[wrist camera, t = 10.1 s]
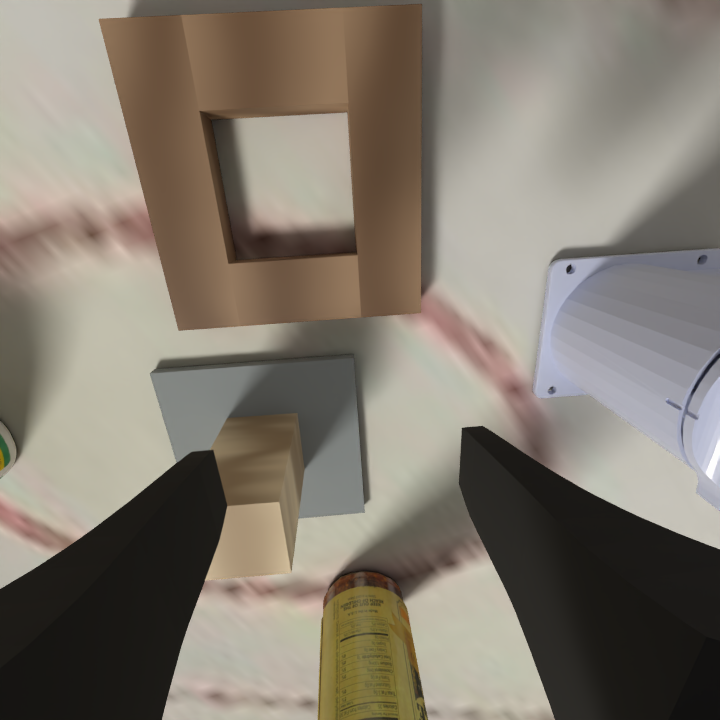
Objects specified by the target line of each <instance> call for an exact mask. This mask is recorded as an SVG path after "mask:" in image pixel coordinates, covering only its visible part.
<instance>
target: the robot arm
mask: <svg viewBox="0 0 720 720" xmlns="http://www.w3.org/2000/svg"><path fill="white" fill-rule="evenodd" d="M699 257H700V260H699V262H698V263H697V260H698V258H699ZM570 264H571V267H572V268H571V270H570V271H569V272H568V273H567V272H566V268H567V266H568V265H570ZM550 387H553V388H552V390H551V391H548V389H549V388H550ZM533 393H534V394H535V395H536V396H537V397H538V398H553V397H565V396H577V395H590V396H591V397H593V398H594V399H595V400H597V401H598V402H600V403H601V404H602V405H604V406H605V407H607V408H608V409H609V410H611V411H612V412H613V413H615V414H616V415H618V416H619V417H620V418H622V419H623V420H625V421H626V422H627V423H629V424H630V425H632V426H633V427H634V428H636V429H637V430H639V431H640V432H641V433H643V434H644V435H645V436H647V437H648V438H650V439H651V440H652V441H654V442H655V443H657V444H658V445H659V446H661V447H662V448H664V449H665V450H666V451H668V452H669V453H671V454H672V455H673V456H675V457H676V458H677V459H679V460H680V461H682V462H683V463H684V464H686V465H687V466H689V467H690V468H691V469H693V470H694V471H695V472H696V473H697V477H698V485H697V489H696V493H697V494H698V495H699V496H701V497H702V498H703V499H705V500H706V501H707V502H708V503H710V504H711V505H712V506H714V507H715V508H716V509H717V510H719V511H720V248H712V249H698V250H683V251H668V252H654V253H639V254H625V255H610V256H596V257H581V258H567V259H557V260H555V261H553V262H552V263H551V265H550V266H549V269H548V277H547V284H546V292H545V299H544V307H543V314H542V322H541V330H540V337H539V345H538V352H537V360H536V367H535V375H534V383H533ZM459 485H460V488H461V491H462V494H463V497H464V501H465V503H466V506H467V509H468V512H469V515H470V517H471V519H472V521H473V523H474V526H475V528H476V530H477V532H478V534H479V536H480V538H481V540H482V542H483V544H484V546H485V548H486V550H487V552H488V554H489V556H490V559H491V561H492V563H493V565H494V567H495V569H496V571H497V573H498V575H499V577H500V579H501V581H502V583H503V585H504V587H505V589H506V591H507V593H508V596H509V598H510V600H511V602H512V605H513V607H514V609H515V612H516V614H517V617H518V619H519V622H520V625H521V627H522V630H523V633H524V635H525V638H526V640H527V643H528V646H529V648H530V651H531V653H532V656H533V659H534V662H535V664H536V667H537V670H538V673H539V676H540V678H541V681H542V684H543V687H544V689H545V692H546V695H547V698H548V700H549V703H550V706H551V709H552V712H553V715H554V718H555V720H720V549H717V548H714V547H712V546H709V545H706V544H704V543H701V542H699V541H696V540H693V539H691V538H688V537H686V536H683V535H681V534H678V533H676V532H673V531H671V530H669V529H666V528H664V527H662V526H659V525H657V524H655V523H652V522H650V521H648V520H645V519H643V518H641V517H639V516H636V515H634V514H632V513H630V512H628V511H625V510H623V509H621V508H619V507H617V506H615V505H613V504H611V503H609V502H607V501H605V500H603V499H601V498H599V497H597V496H595V495H593V494H592V493H590V492H588V491H586V490H584V489H582V488H580V487H579V486H577V485H575V484H573V483H572V482H570V481H568V480H566V479H565V478H563V477H561V476H560V475H558V474H556V473H555V472H553V471H551V470H550V469H548V468H546V467H545V466H543V465H542V464H540V463H538V462H537V461H535V460H534V459H532V458H531V457H529V456H528V455H526V454H525V453H523V452H521V451H520V450H518V449H517V448H516V447H514V446H513V445H511V444H510V443H508V442H507V441H505V440H504V439H502V438H501V437H499V436H498V435H496V434H495V433H493V432H492V431H490V430H488V429H487V428H485V427H483V426H477V427H465V428H462V438H461V456H460V475H459ZM226 510H227V502H226V498H225V494H224V490H223V486H222V482H221V478H220V474H219V470H218V466H217V462H216V458H215V454H214V450H204V451H193V452H191V453H189V454H188V455H186V456H185V457H184V458H182V459H181V460H180V461H179V462H177V463H176V464H175V465H174V466H172V467H171V468H170V469H169V470H168V471H166V472H165V473H164V474H163V475H161V476H160V477H159V478H158V479H157V480H155V481H154V482H153V483H152V484H150V485H149V486H148V487H147V488H146V489H144V490H143V491H142V492H141V493H139V494H138V495H137V496H136V497H134V498H133V499H132V500H131V501H129V502H128V503H127V504H126V505H124V506H123V507H122V508H120V509H119V510H118V511H116V512H115V513H114V514H112V515H111V516H110V517H108V518H107V519H106V520H104V521H103V522H102V523H100V524H99V525H98V526H97V527H95V528H94V529H93V530H91V531H90V532H88V533H87V534H86V535H84V536H83V537H81V538H80V539H79V540H77V541H76V542H74V543H73V544H71V545H70V546H68V547H67V548H65V549H64V550H62V551H61V552H59V553H58V554H56V555H55V556H53V557H52V558H50V559H49V560H47V561H46V562H44V563H43V564H41V565H39V566H38V567H36V568H35V569H33V570H32V571H30V572H28V573H27V574H25V575H23V576H22V577H20V578H18V579H16V580H15V581H13V582H11V583H10V584H8V585H6V586H5V587H3V588H1V589H0V720H162V717H163V713H164V709H165V705H166V701H167V697H168V693H169V689H170V686H171V682H172V678H173V675H174V671H175V667H176V664H177V660H178V656H179V653H180V649H181V646H182V643H183V640H184V637H185V634H186V630H187V627H188V625H189V622H190V619H191V617H192V614H193V611H194V608H195V606H196V603H197V600H198V598H199V595H200V592H201V590H202V587H203V584H204V582H205V579H206V576H207V574H208V571H209V568H210V565H211V563H212V560H213V557H214V554H215V552H216V549H217V546H218V543H219V540H220V536H221V532H222V528H223V524H224V519H225V515H226Z"/></svg>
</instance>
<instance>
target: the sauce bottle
mask: <svg viewBox="0 0 720 720" xmlns="http://www.w3.org/2000/svg"><path fill="white" fill-rule="evenodd" d="M323 609H324V611H323V618H322V621H321V641H320V670H319V695H318V720H428V717H427V712H426V708H425V703H424V696H423V691H422V685H421V680H420V675H419V670H418V664H417V659H416V654H415V648H414V643H413V638H412V633H411V627H410V622H409V616H408V611H407V608H406V606H405V604H404V602H403V598H402V594H401V591H400V588H399V586H398V585H397V584H396V582H395V581H393V580H392V579H391V578H388V577H386V576H384V575H382V574H380V573H377V572H368V571H365V572H363V571H360V572H356V573H350V574H347V575H344V576H341V577H340V578H339V579H338V580H337V581H336V582H335V583H334V584H333V585H332V586H331V587H330V589H329V590H328V592H327V593H326V596H325V597H324V603H323Z"/></svg>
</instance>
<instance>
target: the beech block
mask: <svg viewBox="0 0 720 720" xmlns="http://www.w3.org/2000/svg"><path fill="white" fill-rule="evenodd" d="M210 450H214V454H215V458H216V462H217V466H218V470H219V474H220V478H221V482H222V486H223V490H224V494H225V498H226V502H227V510H226V515H225V519H224V524H223V528H222V532H221V536H220V540H219V543H218V546H217V549H216V552H215V554H214V557H213V560H212V563H211V565H210V568H209V571H208V574H207V576H206V579H205V580H217V579H228V578H240V577H251V576H263V575H274V574H286V573H291V571H292V563H293V556H294V548H295V540H296V532H297V525H298V517H299V509H300V501H301V494H302V486H303V478H304V470H305V468H304V461H303V453H302V445H301V438H300V430H299V422H298V415H297V413H290V414H276V415H262V416H248V417H234V418H227V419H226V421H225V423H224V425H223V427H222V428H221V430H220V432H219V434H218V436H217V438H216V440H215V441H214V443H213V445H212V447H211V449H210Z"/></svg>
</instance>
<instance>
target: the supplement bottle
mask: <svg viewBox="0 0 720 720" xmlns="http://www.w3.org/2000/svg"><path fill="white" fill-rule="evenodd" d="M15 459H16V446H15V443H14V441H13V438H12V436H11V434H10V432H9V430H8V429H7V428H6V427H5V425H4V424H3V423H2V422H1V421H0V478H2V477H3V476H4V475H5V474H6V473H7V472H8V471H9V470H10V469H11V468H12V466H13V464H14V462H15Z"/></svg>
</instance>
